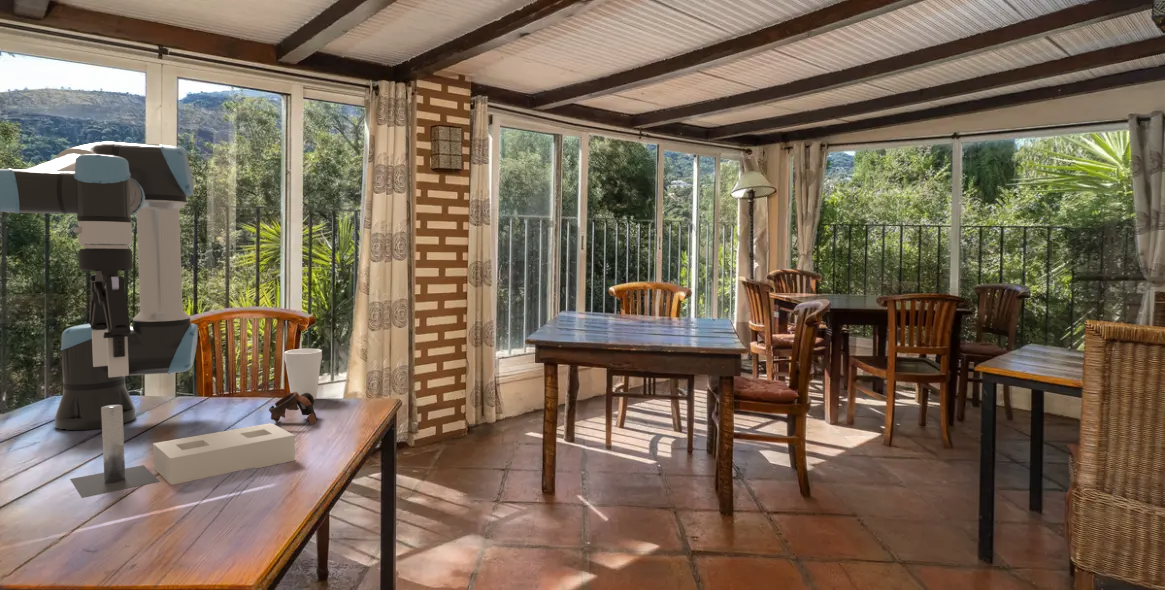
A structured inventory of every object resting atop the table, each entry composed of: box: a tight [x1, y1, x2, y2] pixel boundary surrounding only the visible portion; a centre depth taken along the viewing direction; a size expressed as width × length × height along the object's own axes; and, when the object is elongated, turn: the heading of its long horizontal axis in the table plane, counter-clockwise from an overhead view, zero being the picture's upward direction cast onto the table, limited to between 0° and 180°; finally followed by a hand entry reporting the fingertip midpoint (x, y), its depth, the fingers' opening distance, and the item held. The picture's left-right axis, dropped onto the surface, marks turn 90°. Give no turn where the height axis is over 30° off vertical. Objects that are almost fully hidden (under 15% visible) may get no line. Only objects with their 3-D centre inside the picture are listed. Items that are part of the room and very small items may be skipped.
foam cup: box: [283, 348, 323, 400], centre depth 181 cm, size 10×9×13 cm
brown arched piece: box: [268, 392, 318, 426], centre depth 158 cm, size 12×10×8 cm
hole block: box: [152, 422, 296, 486], centre depth 127 cm, size 12×21×5 cm, turn 135°
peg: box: [101, 405, 126, 483], centre depth 116 cm, size 3×3×13 cm
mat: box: [69, 464, 161, 499], centre depth 117 cm, size 12×11×1 cm
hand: (110, 371), depth 115 cm, fingers open, 13 cm apart
